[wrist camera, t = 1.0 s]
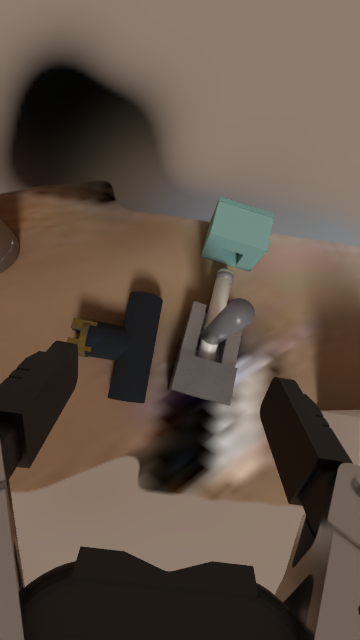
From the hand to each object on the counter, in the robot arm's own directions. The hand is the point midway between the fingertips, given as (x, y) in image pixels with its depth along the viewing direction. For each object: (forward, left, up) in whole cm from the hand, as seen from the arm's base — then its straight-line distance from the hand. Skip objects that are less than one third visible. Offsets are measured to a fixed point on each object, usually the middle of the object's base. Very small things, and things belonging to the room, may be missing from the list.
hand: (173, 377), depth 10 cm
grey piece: (+6, +11, -27) cm, 30 cm away
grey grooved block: (+6, +7, -28) cm, 30 cm away
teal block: (+6, +26, -28) cm, 39 cm away
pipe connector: (-7, +4, -29) cm, 30 cm away
